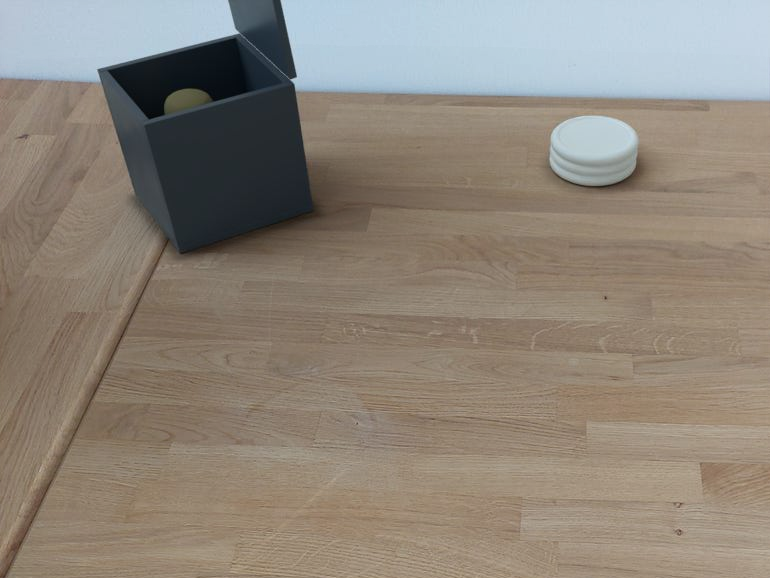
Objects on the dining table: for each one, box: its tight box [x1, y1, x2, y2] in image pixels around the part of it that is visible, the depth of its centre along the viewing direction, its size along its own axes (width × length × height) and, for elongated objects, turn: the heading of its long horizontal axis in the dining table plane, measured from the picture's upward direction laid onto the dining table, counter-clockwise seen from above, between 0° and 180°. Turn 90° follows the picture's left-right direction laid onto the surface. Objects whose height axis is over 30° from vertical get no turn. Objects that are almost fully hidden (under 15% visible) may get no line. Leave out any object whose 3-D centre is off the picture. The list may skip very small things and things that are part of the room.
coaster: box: [549, 115, 640, 187], centre depth 110 cm, size 10×10×4 cm
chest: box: [96, 32, 314, 254], centre depth 102 cm, size 16×14×13 cm
